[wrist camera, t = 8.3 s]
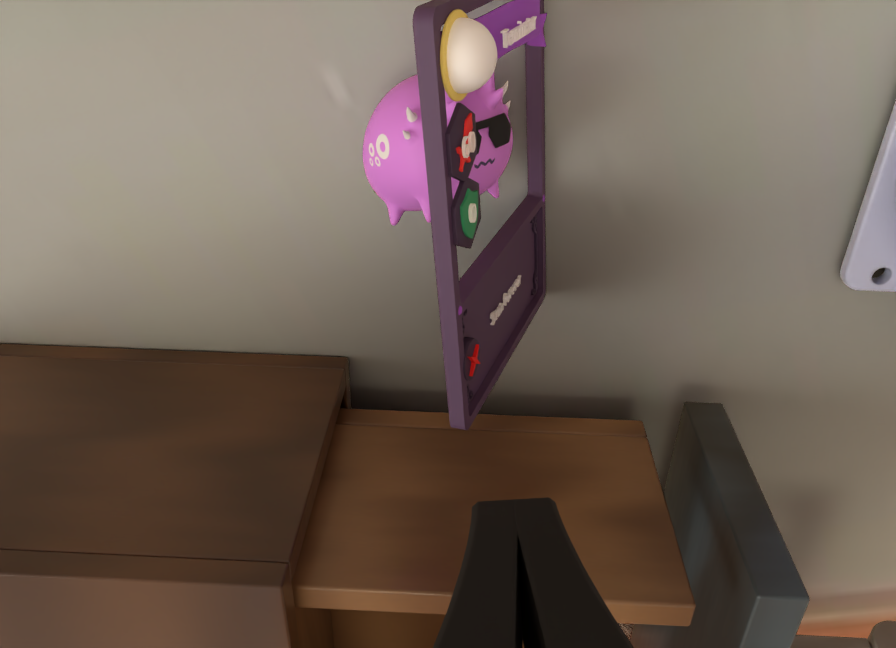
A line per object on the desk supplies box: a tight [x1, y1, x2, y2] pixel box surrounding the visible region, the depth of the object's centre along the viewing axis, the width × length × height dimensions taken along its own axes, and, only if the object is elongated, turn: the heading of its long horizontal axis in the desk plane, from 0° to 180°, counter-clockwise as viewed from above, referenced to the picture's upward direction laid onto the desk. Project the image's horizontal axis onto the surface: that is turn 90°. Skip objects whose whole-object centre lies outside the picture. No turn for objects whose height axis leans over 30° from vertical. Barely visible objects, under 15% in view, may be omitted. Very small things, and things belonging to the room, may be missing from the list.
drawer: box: [291, 402, 896, 648], centre depth 23 cm, size 18×13×7 cm
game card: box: [363, 0, 547, 430], centre depth 18 cm, size 7×5×9 cm
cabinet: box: [0, 344, 351, 648], centre depth 24 cm, size 14×14×9 cm
